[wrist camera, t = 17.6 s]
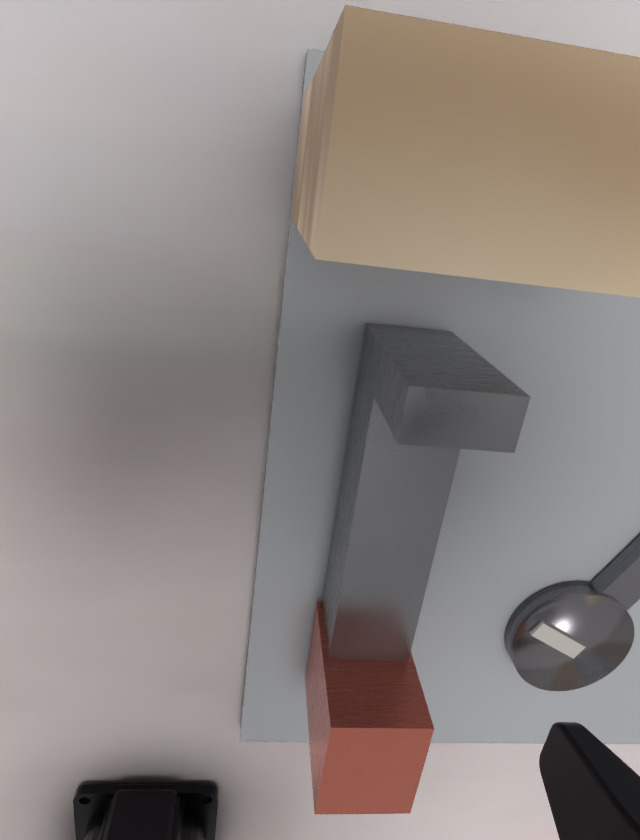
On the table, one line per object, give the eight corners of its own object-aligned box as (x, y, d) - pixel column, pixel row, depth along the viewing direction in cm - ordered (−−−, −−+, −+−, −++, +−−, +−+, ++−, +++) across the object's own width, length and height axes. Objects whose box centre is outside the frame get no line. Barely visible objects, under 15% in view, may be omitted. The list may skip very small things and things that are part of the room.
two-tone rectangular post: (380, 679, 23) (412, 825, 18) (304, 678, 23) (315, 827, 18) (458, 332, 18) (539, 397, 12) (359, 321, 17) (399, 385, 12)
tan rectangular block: (550, 251, 17) (810, 318, 9) (291, 218, 16) (315, 258, 8) (579, 143, 16) (910, 105, 8) (302, 100, 15) (345, 4, 7)
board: (717, 730, 28) (728, 744, 28) (240, 724, 25) (239, 741, 24) (1031, 174, 18) (1063, 174, 18) (305, 54, 15) (307, 48, 15)
